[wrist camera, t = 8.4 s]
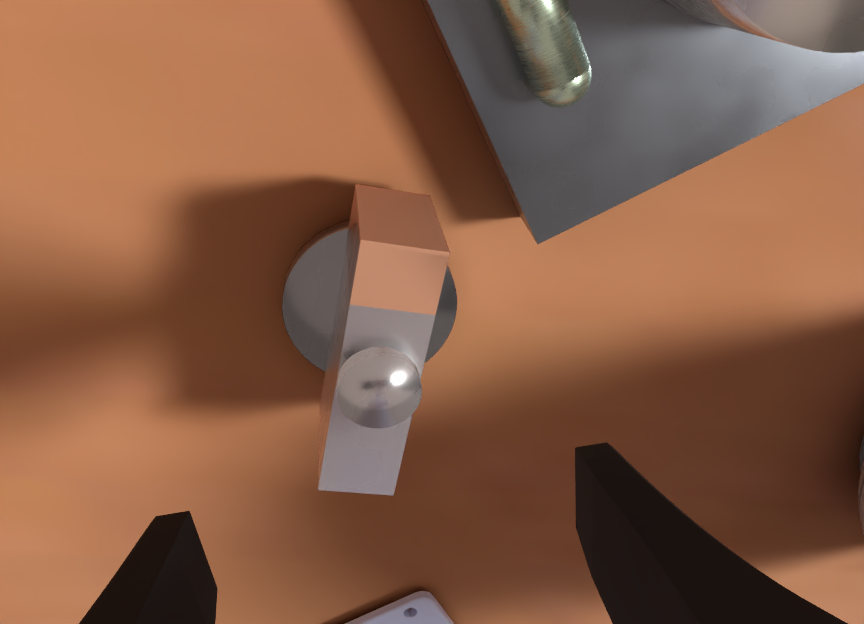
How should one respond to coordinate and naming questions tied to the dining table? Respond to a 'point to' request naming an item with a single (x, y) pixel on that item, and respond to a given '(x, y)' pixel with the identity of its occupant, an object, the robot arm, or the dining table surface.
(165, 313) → the dining table surface
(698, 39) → the levelling base
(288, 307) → the wing knob
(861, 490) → the vase
